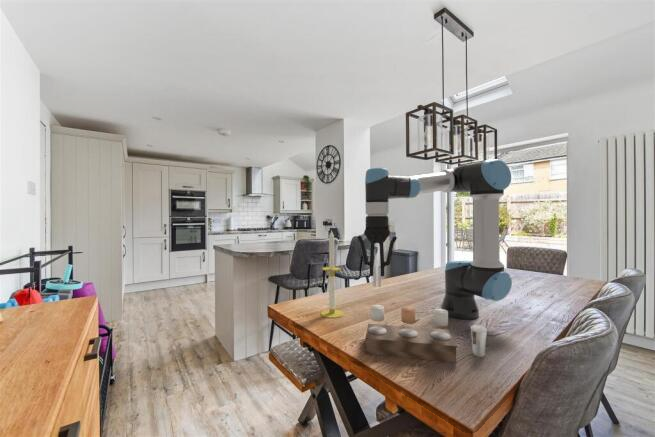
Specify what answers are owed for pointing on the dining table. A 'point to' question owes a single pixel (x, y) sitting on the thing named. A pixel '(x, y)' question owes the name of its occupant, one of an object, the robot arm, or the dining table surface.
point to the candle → (331, 282)
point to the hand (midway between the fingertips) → (377, 285)
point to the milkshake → (478, 339)
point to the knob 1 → (377, 313)
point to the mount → (410, 342)
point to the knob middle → (408, 315)
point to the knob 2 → (440, 317)
